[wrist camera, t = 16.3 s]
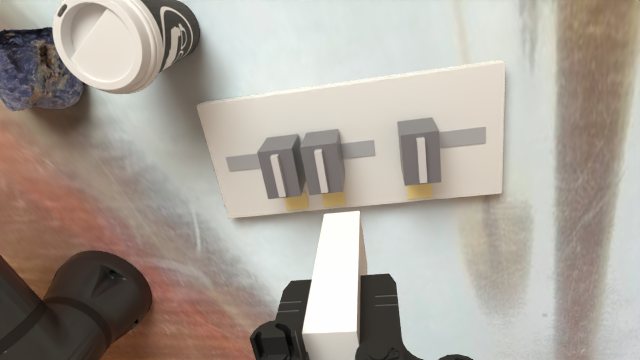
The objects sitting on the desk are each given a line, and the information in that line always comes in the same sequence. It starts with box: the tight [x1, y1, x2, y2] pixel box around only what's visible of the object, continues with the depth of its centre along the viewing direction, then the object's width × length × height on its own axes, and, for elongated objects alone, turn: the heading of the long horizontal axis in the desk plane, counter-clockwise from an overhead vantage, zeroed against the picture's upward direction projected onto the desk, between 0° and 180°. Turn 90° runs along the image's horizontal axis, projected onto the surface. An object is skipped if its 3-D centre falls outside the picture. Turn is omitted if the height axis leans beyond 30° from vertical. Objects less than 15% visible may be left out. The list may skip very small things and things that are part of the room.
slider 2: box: [300, 129, 345, 195], centre depth 47 cm, size 4×6×6 cm, turn 9°
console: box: [196, 60, 505, 218], centre depth 51 cm, size 36×16×2 cm, turn 99°
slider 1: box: [257, 134, 306, 199], centre depth 48 cm, size 4×6×6 cm, turn 9°
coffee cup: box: [53, 0, 200, 94], centre depth 41 cm, size 10×10×15 cm
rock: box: [0, 27, 83, 111], centre depth 49 cm, size 11×10×10 cm
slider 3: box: [397, 117, 441, 186], centre depth 46 cm, size 4×6×6 cm, turn 9°
